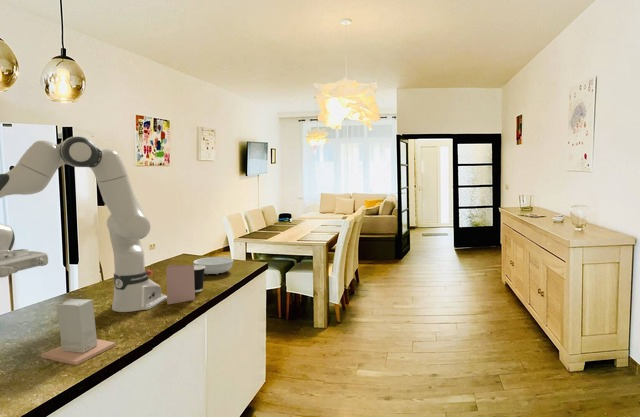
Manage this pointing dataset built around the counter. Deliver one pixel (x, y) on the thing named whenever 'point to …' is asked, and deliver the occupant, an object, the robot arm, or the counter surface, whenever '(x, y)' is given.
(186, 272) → the greeting card
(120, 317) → the counter surface
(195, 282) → the dixie cup
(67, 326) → the skincare box
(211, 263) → the serving bowl
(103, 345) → the terracotta mat
